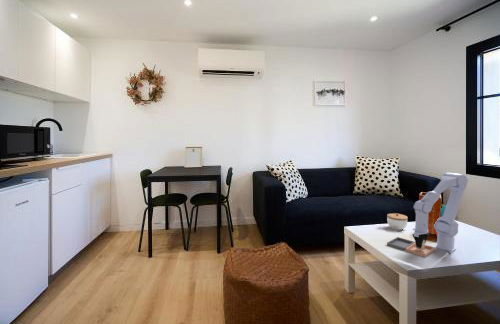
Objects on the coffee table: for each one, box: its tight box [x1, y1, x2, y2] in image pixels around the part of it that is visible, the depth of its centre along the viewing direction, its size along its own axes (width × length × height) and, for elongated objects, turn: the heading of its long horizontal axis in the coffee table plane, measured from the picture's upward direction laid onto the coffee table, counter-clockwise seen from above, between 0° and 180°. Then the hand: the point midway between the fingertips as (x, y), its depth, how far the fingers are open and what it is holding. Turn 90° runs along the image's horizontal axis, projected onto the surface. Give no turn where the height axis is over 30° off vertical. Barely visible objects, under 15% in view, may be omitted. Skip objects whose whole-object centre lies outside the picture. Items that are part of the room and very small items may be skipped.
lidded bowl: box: [386, 212, 408, 231], centre depth 177 cm, size 13×13×11 cm
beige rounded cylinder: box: [415, 240, 426, 250], centre depth 140 cm, size 4×4×5 cm
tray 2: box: [405, 243, 436, 258], centre depth 140 cm, size 14×10×2 cm
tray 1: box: [386, 236, 415, 252], centre depth 148 cm, size 14×10×2 cm
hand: (420, 246), depth 140 cm, fingers closed on beige rounded cylinder, 4 cm apart
